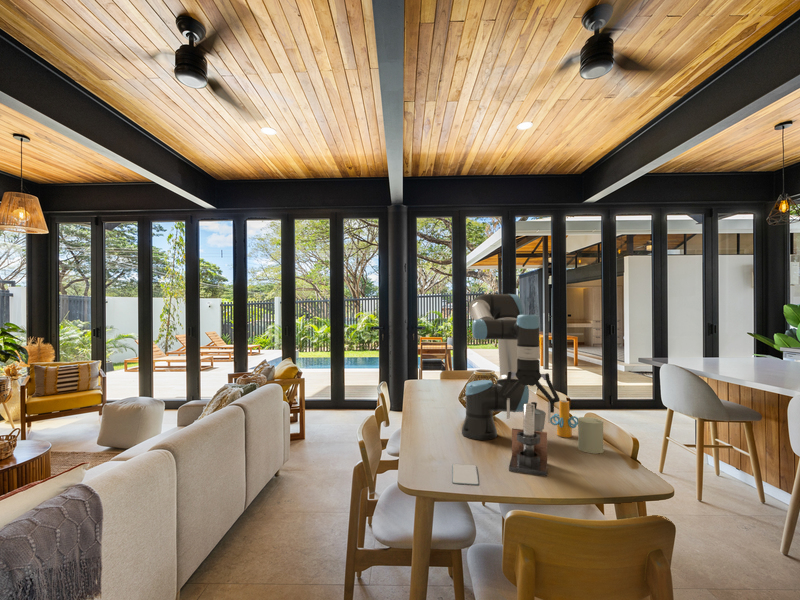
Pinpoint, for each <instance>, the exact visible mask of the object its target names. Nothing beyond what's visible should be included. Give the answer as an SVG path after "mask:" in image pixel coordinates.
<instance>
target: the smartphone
mask: <svg viewBox="0 0 800 600" xmlns="http://www.w3.org/2000/svg"><path fill="white" fill-rule="evenodd" d="M477 468H478V467H477V465H475V464H461V463H452V465H451V483H452V485H467V486H477V487H478V486H479V485H480V480H479V473H478V469H477Z"/></svg>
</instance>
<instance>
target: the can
mask: <svg viewBox="0 0 800 600" xmlns="http://www.w3.org/2000/svg"><path fill="white" fill-rule="evenodd" d="M577 418H578V425H577V428H578V429H577V434H578V435H577V437H578V439H577V440H578V441H577V442H578V443H577V449H578V450H579V451H581V452H583V453H584V452H585V453H588V454H593V455H595V454H598V453H600V454H603V453H604V452H605V451H604V450H605V449H604V420H602V419H600V418H596V417H591V416H589V417H588V416H582V417H581V416H580V417H577Z"/></svg>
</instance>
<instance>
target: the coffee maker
mask: <svg viewBox="0 0 800 600" xmlns="http://www.w3.org/2000/svg"><path fill="white" fill-rule="evenodd" d="M530 404H534V405H535V419H534V431H541V432H543V430H544V429H545V423H546V414H547V413H546V411H545V410H543V409H539V408H537V405H538V403H537V402H536V401H532V402H530ZM522 413H523V414H522V415H524V410H523V412H522Z"/></svg>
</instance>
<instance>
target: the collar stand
mask: <svg viewBox="0 0 800 600" xmlns="http://www.w3.org/2000/svg"><path fill="white" fill-rule="evenodd" d="M523 430H524V429H523V428H522V429H521V428H511V458H510V462H509V466H508V472H514V473H520V474H527V475H528V474H529V475H535V476H542V477H548V432H547V431H542V432H541V431H534V437H533V438H529V437H524V436H523ZM523 443H524V444H530V445H533V444H534V457H527V456H523Z"/></svg>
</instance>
